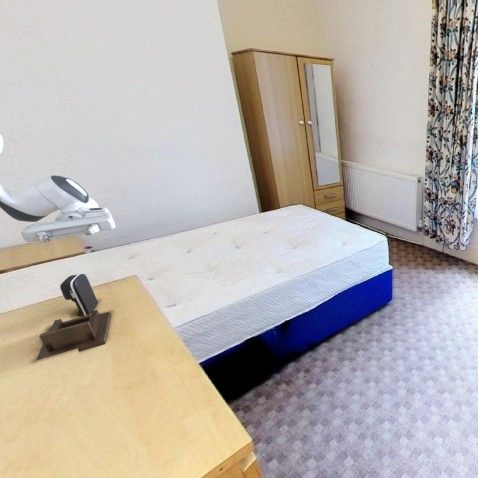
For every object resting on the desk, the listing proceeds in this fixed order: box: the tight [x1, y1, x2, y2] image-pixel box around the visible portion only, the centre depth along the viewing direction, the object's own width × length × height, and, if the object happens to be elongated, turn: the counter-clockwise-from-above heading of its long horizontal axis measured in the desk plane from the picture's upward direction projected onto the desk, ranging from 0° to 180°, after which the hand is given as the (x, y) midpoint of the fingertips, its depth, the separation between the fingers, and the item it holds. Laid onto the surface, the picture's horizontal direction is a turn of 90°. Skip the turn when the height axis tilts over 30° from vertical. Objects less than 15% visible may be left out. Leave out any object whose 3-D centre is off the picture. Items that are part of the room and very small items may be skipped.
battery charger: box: [59, 273, 99, 317], centre depth 93 cm, size 7×4×11 cm, turn 25°
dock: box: [35, 309, 112, 361], centre depth 84 cm, size 12×15×6 cm
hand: (66, 236), depth 96 cm, fingers open, 8 cm apart
